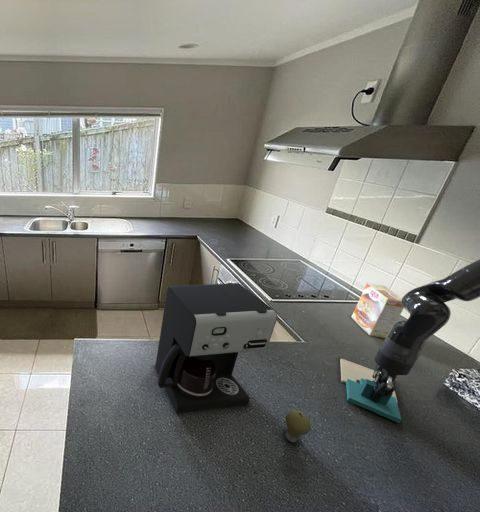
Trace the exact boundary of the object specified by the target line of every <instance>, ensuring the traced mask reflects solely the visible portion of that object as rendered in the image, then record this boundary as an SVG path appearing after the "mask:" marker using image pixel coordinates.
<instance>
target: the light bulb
mask: <svg viewBox="0 0 480 512" xmlns="http://www.w3.org/2000/svg"><path fill="white" fill-rule="evenodd" d="M285 425H286V434H285V438H286V440H288V441H289V442H291V443H297V440H298V439H299V438H301V436H304V435H307V434H308V433H309V432H310V431H311V428H312V423H311V421H310V418H309V417H308V416H307V415H306V414H305V413H304V412H302V411H299V410H294V409H293V410H290V411H287V413H286V415H285Z"/></svg>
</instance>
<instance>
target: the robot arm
mask: <svg viewBox="0 0 480 512" xmlns="http://www.w3.org/2000/svg"><path fill="white" fill-rule="evenodd" d="M401 298H402V300H401V303H402V306H403V307H404V310H405V311H407V312H408V314H409V316H408V318H407V319H405V320H404V319H401V320H397V322H396V323H395V324H394V326H393V328H392V329H391V331H390V333H389V335H388V337H387V338H384V340H383V342H382V343H381V346H380V347H379V349H378V351H377V353H376V355H375V356H374V362H375V364H376V365H375V368H374V374H373V376H372V377H373V378H374V379H373V380H372V381H373V382H375V383H376V385H375V387H374V390H373V391H372V393H371V395H370V399H371V400H373V401H375V402H379V401H380V399H381V398H382V396H385V397H387V396H389V395H390V394H391V393H392V392H394V391H395V392H396V386H394V383H396V382H397V380H398V376H407V375H409V374H410V372H411V371H412V369H413V368H414V366H415V364H416V363H417V361H418V359H419V357H420V355H421V353H422V350H423V348H424V347H425V346H426V343H427V342H428V340H429V338H430V337H432V336H433V335H435V334H436V333H438V331H439V330H441V329H442V328H443V327H444V326H446V325H447V324H448V322H449V320H450V318H451V314H452V313H451V312H452V311H451V308H450V307H449V305H448V304H447V302H451V301H454V300H459V301H462V302H471V301H475V300H477V299H479V298H480V258H479V259H477V260H475V261H473V262H471V263H469V264H467V265H464V266H463V267H461V268H460V269H458V270H456V271H453V273H452V272H451V274H449V275H447V276H445V277H444V278H441V279H438V280H435V281H432V282H429V283H426V284H423V285H421V286H418V287H415V288H412V289H411V290H409V291H408V292H406V293H405V294H404V295H403V296H402V297H401Z"/></svg>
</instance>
